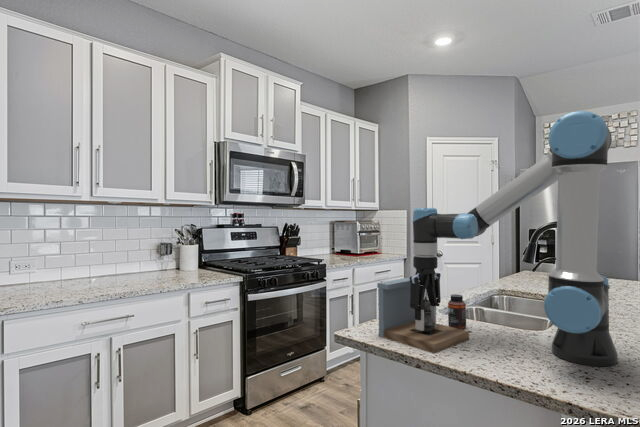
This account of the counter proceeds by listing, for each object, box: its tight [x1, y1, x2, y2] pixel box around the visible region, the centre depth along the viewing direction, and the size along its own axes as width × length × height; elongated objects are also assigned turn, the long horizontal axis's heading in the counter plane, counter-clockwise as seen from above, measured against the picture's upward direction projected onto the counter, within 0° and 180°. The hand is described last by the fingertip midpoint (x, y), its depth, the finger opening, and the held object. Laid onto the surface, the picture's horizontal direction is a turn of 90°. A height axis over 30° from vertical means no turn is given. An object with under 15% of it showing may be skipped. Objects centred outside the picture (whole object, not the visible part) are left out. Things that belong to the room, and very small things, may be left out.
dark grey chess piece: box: [418, 296, 435, 336], centre depth 125 cm, size 6×6×12 cm
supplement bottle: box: [447, 293, 467, 330], centre depth 137 cm, size 6×6×11 cm
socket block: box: [383, 321, 470, 354], centre depth 125 cm, size 19×19×2 cm
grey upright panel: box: [376, 276, 416, 339], centre depth 132 cm, size 4×20×18 cm, turn 130°
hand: (425, 327), depth 125 cm, fingers closed on dark grey chess piece, 6 cm apart
